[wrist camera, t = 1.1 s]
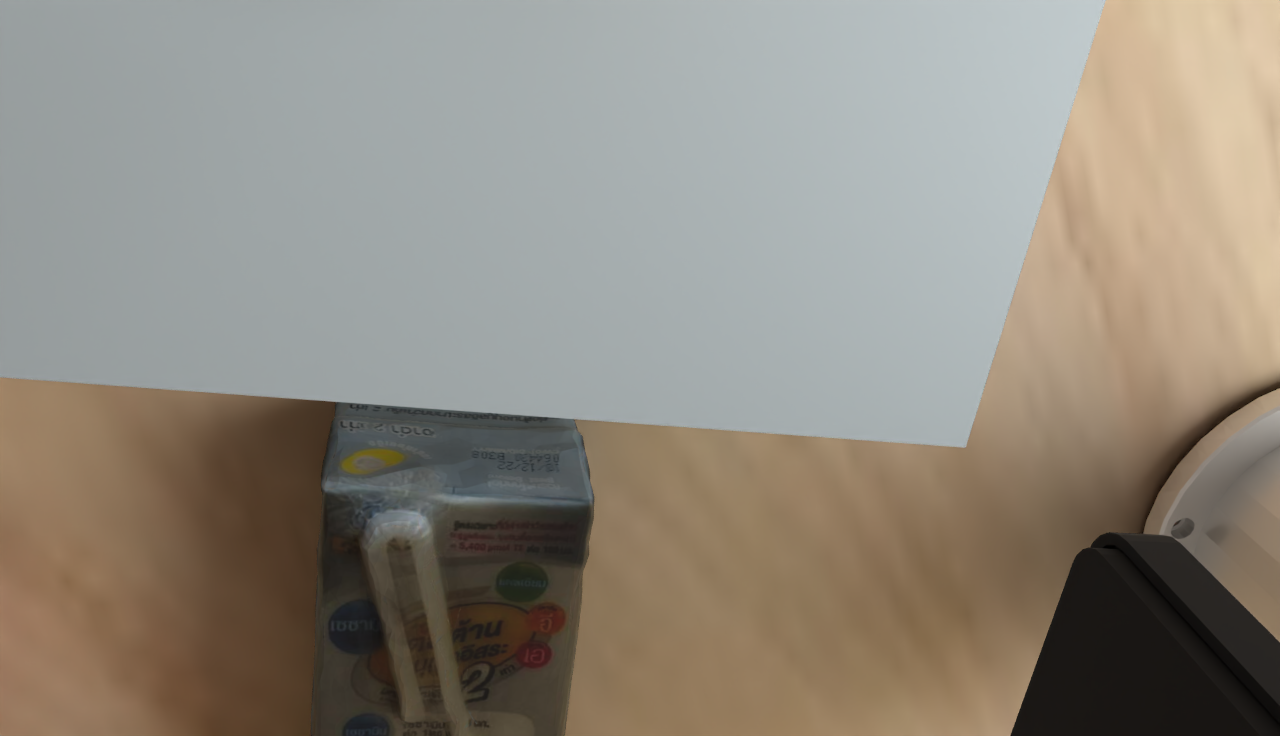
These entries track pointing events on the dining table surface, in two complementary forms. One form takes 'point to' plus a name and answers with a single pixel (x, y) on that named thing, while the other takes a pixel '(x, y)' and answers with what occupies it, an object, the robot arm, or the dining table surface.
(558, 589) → the beverage carton
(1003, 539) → the dining table surface
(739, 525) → the dining table surface
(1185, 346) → the dining table surface
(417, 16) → the lid
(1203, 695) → the robot arm
